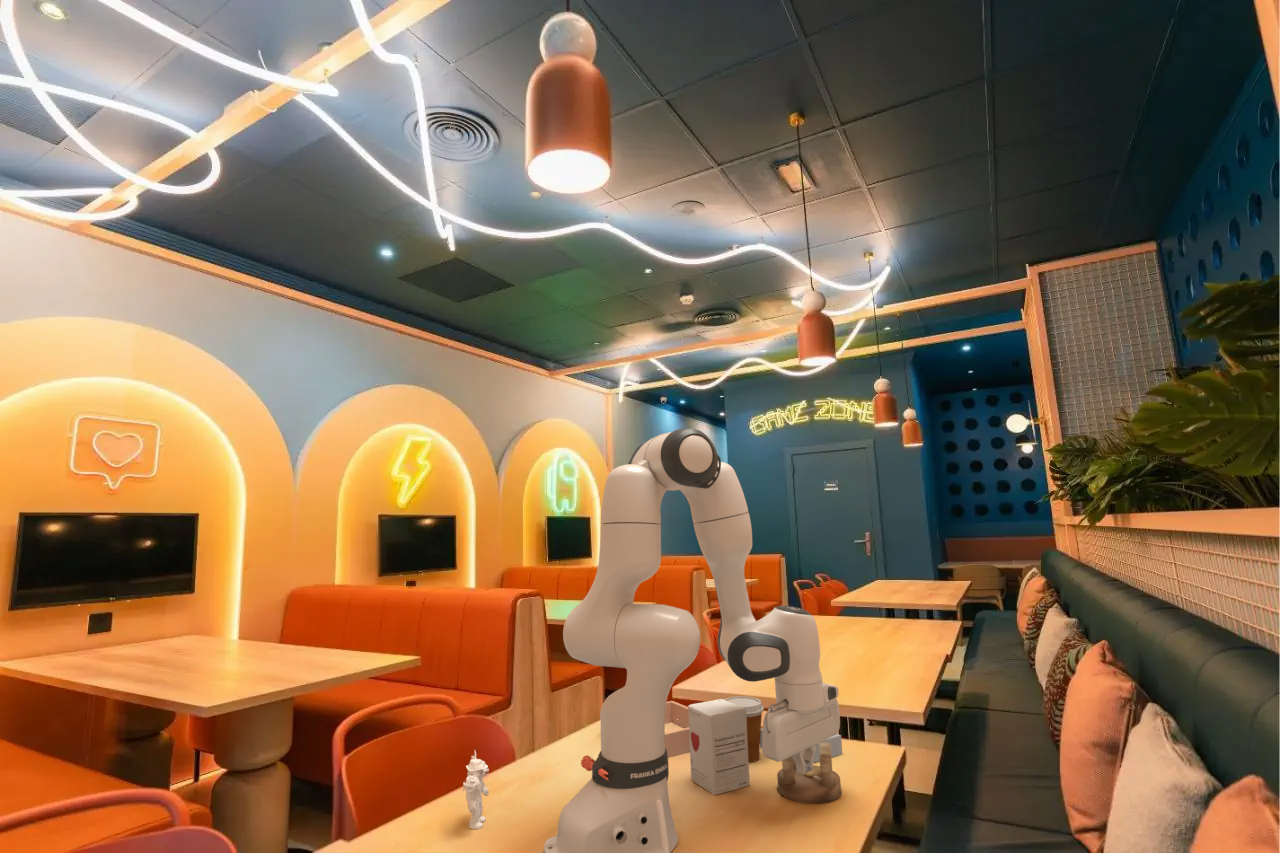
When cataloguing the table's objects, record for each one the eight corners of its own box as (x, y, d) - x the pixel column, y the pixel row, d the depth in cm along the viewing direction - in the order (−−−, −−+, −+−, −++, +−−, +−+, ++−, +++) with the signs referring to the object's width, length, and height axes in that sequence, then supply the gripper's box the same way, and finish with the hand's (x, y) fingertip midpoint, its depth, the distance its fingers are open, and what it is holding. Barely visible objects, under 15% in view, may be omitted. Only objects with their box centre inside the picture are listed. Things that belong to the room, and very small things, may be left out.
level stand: (802, 766, 138) (801, 738, 139) (760, 747, 150) (758, 721, 151) (842, 754, 144) (840, 727, 145) (798, 737, 156) (796, 712, 157)
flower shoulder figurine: (472, 813, 121) (473, 745, 123) (493, 812, 121) (493, 745, 123) (458, 836, 112) (458, 763, 114) (480, 836, 112) (480, 762, 114)
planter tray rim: (647, 762, 143) (646, 738, 144) (603, 735, 162) (602, 714, 163) (723, 743, 154) (722, 721, 154) (673, 720, 172) (672, 700, 173)
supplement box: (689, 780, 133) (686, 704, 135) (725, 771, 137) (721, 697, 139) (714, 796, 125) (710, 715, 127) (751, 786, 129) (747, 707, 131)
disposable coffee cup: (766, 766, 139) (762, 708, 140) (722, 764, 140) (719, 707, 142) (766, 750, 148) (763, 696, 150) (725, 749, 150) (722, 695, 151)
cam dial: (808, 809, 118) (806, 765, 119) (764, 786, 128) (762, 746, 129) (855, 793, 124) (852, 752, 125) (809, 772, 134) (807, 734, 135)
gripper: (779, 711, 112) (785, 795, 111) (843, 685, 126) (849, 760, 124) (751, 704, 117) (756, 784, 115) (815, 680, 130) (820, 751, 129)
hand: (804, 771), depth 120 cm, fingers closed
